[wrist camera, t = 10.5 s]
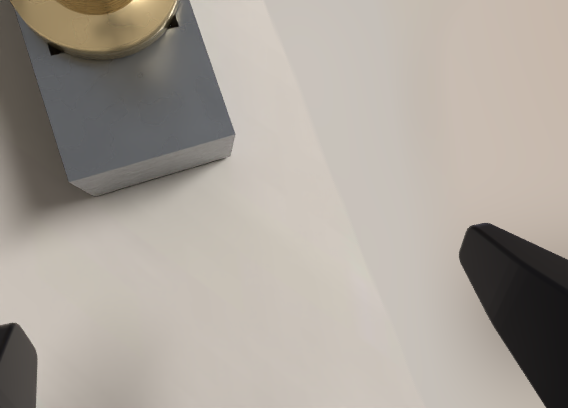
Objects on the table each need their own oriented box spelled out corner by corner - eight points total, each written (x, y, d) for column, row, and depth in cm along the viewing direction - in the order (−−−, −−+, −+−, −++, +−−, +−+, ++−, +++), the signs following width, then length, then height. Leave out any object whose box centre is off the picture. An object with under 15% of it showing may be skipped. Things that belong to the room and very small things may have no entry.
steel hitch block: (230, 156, 22) (235, 134, 19) (94, 196, 21) (68, 182, 17) (143, -100, 23) (130, -172, 19) (7, -79, 22) (-36, -152, 18)
